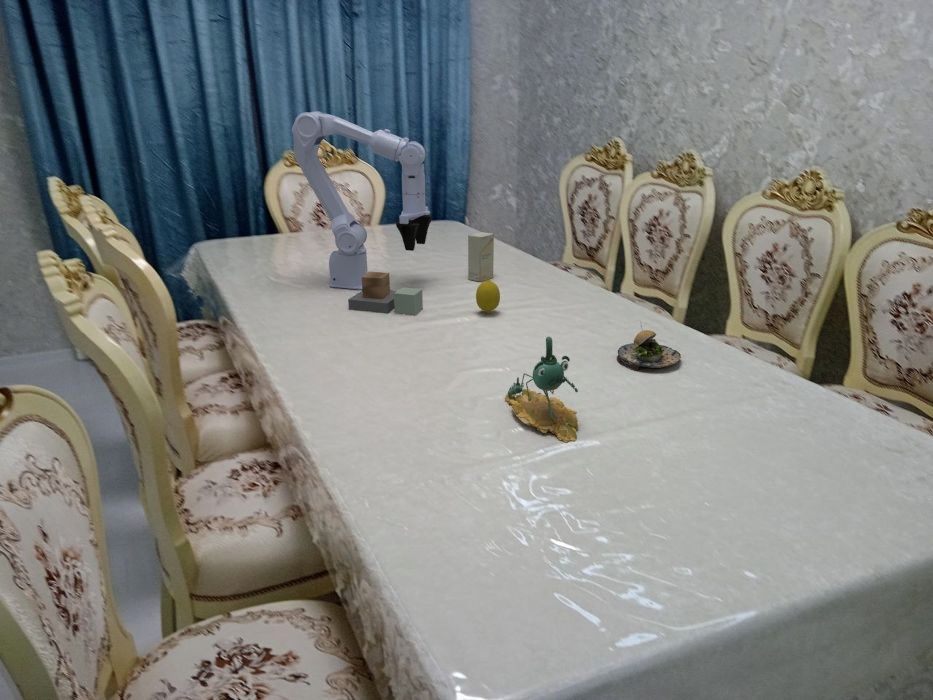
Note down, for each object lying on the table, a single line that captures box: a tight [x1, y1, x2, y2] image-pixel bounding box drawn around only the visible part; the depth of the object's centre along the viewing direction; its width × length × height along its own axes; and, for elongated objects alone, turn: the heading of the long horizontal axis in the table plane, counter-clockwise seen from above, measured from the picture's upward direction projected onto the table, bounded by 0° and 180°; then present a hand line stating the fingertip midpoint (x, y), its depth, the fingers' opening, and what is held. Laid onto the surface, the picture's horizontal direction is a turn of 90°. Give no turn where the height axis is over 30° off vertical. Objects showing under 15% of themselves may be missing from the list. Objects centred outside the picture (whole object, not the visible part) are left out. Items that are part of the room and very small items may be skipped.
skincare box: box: [467, 231, 495, 283], centre depth 178 cm, size 6×4×12 cm
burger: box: [616, 321, 682, 372], centre depth 125 cm, size 12×12×8 cm
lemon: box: [475, 279, 501, 314], centre depth 151 cm, size 6×6×8 cm
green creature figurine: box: [504, 336, 579, 443], centre depth 102 cm, size 10×18×15 cm, turn 22°
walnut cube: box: [361, 271, 391, 299], centre depth 157 cm, size 5×5×5 cm
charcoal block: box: [347, 289, 397, 315], centre depth 158 cm, size 10×10×3 cm
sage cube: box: [394, 286, 424, 316], centre depth 153 cm, size 5×5×5 cm
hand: (415, 246), depth 170 cm, fingers open, 7 cm apart
